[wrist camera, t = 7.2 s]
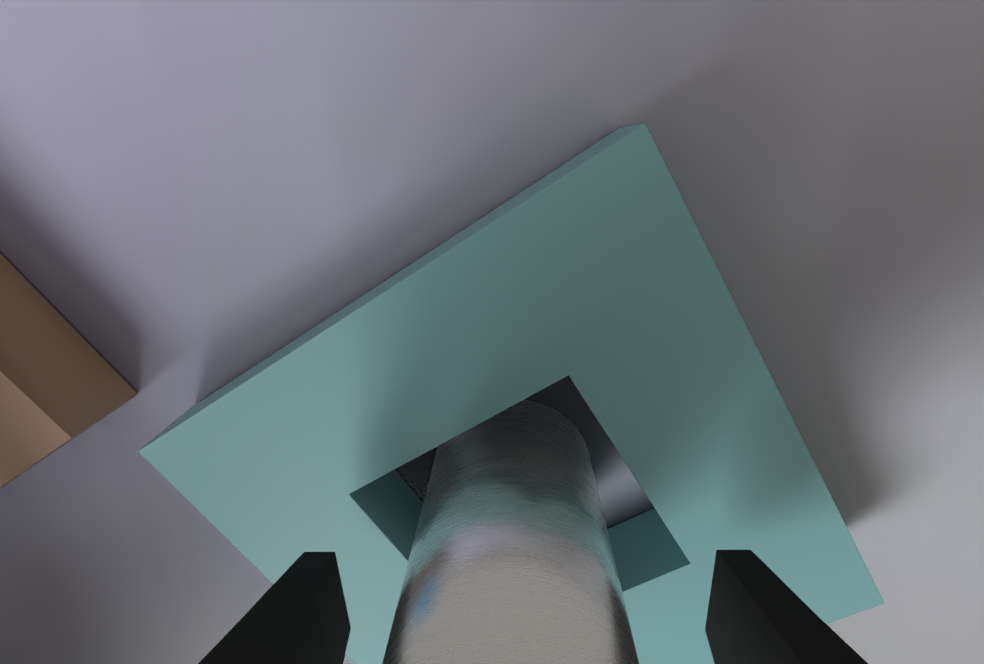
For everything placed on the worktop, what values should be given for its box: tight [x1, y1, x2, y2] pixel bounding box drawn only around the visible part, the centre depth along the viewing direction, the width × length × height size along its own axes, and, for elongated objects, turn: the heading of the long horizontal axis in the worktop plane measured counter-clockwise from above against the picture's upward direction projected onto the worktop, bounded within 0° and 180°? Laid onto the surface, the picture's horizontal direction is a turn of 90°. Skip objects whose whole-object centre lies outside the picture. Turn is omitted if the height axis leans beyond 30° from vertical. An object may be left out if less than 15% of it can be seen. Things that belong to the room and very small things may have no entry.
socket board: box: [138, 123, 884, 664], centre depth 12 cm, size 12×12×2 cm
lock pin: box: [382, 399, 639, 664], centre depth 9 cm, size 5×5×8 cm
